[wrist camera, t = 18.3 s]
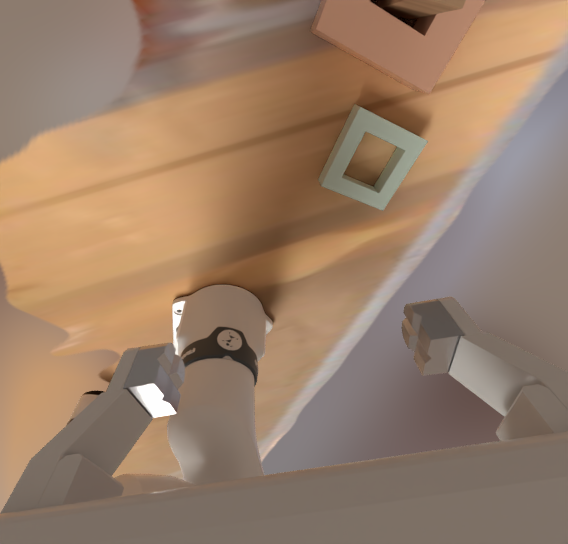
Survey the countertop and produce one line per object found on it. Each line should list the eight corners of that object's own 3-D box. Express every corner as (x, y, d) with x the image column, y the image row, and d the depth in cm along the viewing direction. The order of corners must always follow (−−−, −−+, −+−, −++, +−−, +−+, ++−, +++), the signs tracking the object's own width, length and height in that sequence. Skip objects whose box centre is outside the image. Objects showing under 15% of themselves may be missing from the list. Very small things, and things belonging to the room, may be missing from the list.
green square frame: (377, 203, 44) (382, 210, 42) (317, 179, 41) (321, 186, 39) (419, 136, 38) (428, 141, 37) (354, 103, 36) (360, 106, 34)
